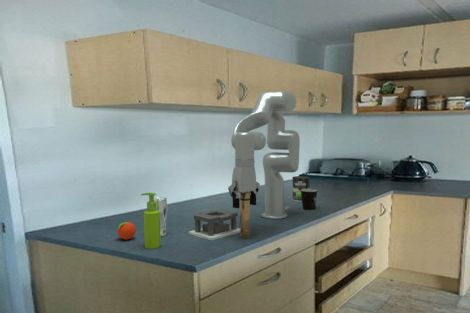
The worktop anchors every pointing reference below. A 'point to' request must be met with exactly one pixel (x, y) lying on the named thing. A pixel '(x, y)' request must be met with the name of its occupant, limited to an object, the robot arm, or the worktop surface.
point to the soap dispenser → (151, 224)
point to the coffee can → (300, 186)
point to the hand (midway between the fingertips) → (244, 206)
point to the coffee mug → (308, 199)
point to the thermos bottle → (245, 215)
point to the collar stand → (215, 224)
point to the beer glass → (162, 214)
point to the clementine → (126, 230)
